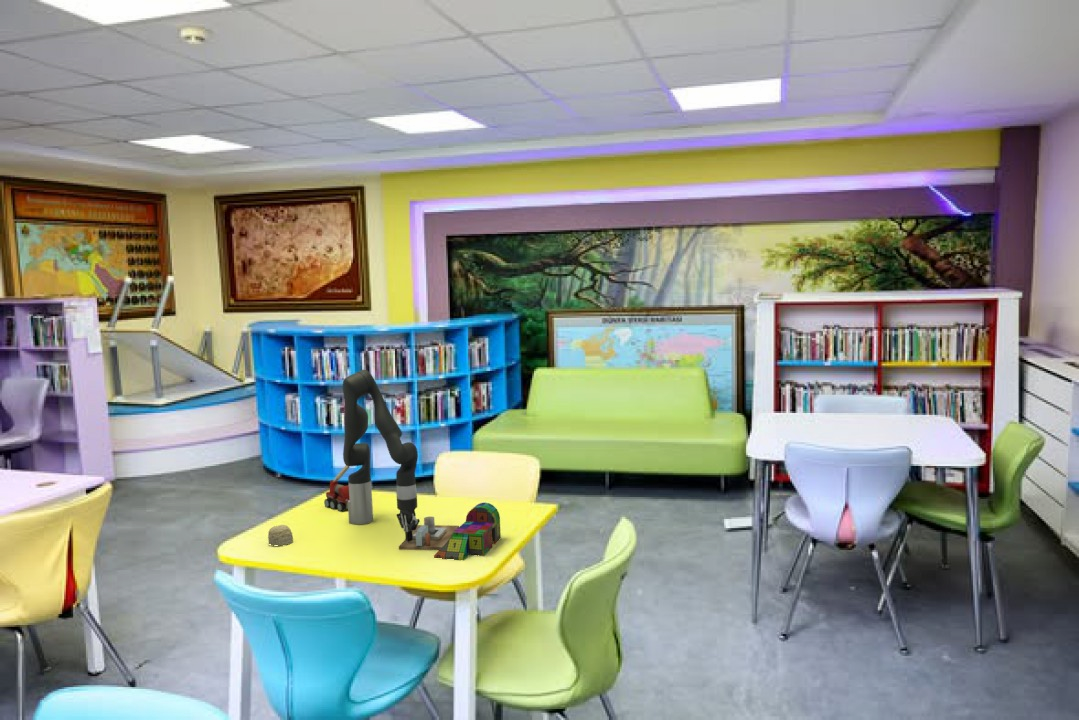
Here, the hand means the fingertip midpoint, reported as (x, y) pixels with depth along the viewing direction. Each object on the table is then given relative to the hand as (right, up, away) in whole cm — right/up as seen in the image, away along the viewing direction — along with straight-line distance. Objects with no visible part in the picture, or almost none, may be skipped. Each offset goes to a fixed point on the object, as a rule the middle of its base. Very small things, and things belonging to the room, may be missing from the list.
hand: (409, 540), depth 296 cm
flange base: (+7, -1, +7) cm, 10 cm away
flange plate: (+6, 0, +4) cm, 7 cm away
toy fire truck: (-38, +2, +55) cm, 67 cm away
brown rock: (-51, -3, +8) cm, 52 cm away
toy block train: (+23, -2, -5) cm, 24 cm away
